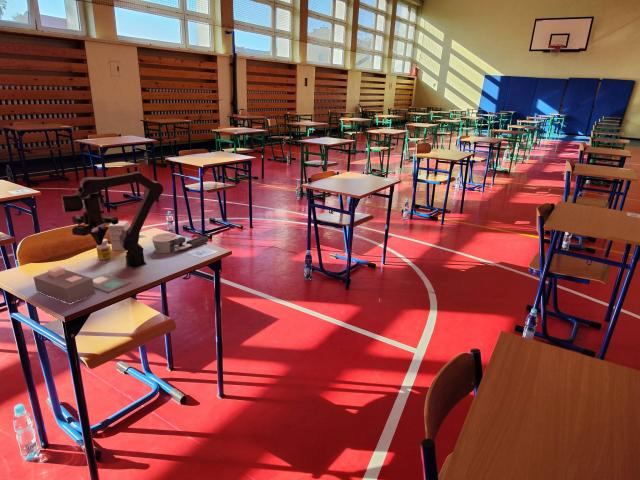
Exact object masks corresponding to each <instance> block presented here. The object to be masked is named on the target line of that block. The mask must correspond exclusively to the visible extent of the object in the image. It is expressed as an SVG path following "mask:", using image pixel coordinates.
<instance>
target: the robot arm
mask: <svg viewBox="0 0 640 480" xmlns="http://www.w3.org/2000/svg"><path fill="white" fill-rule="evenodd" d="M134 183H138V184H140V185H141V186H142V187H144V189H143V196H142V197H143V198H142V200H141V203H140V204H139V205H138V206H139V207H138V209H137V211H136V212H135V215H134V218H133V220H132V222H131V223H130V224H129V229H127V230H126V231H125V230H123V231H122V234H121V236H120V237H119V238H120V240H119V242H120V244H121V246H122V247H123V248H124V249H125V250H124V251H125V253H126V254H125V256H124V257H125V262H126V263H125V264H126V265H127V266H128V267H130V268H133V269H134V268H137V267H141V266H145V265H147V262H146V261H145V257H144V256H145V255H144V247H143V246H142V245H141V244H140V243H139V240H140V232H141V230H142V228H143V226H144V223H145V221H146V219H147V217H148V215H149V213H150V211H151V210H152V207H153V206H154V203H155V202H156V201H157V200H159V199H160V197H161V196H162V194H163V193H164V186H163V185H162V183H160V182H158V181H156V180H151V179H149V178H147V177H146V176H144V175H143V174H142V173H141V172H139V171H134V172H129V173H122V174H116V175H111V176H106V177H102V176H101V177H100V176H99V177H98V176H85V177H82V179H80V182H79V187H78V189H77V190H76V192H75V194H62V195H61V205H62V209H63V213H65V214H66V213H67V214H68V213H74V212H75V213H76V212H81V210H83V208H84V209H85V211H83V212H82V215H81V216H80V215H78V214H77V215H73V216H72V217H71V221H72V223H73V224H74V225H76V224H77V226H74V227H72V229H71V232H72V235H74V236H80V237H85V236H89V235H90V236H91V237H92V238H93V240H94V241H95V243H96V244H97V245H101V244H102V241H103V239H105V236H106V234H107V231H108V230H109V227H108V226H107V224H108V225H109V224H113V225H115V224H118V223H119V222H118V221H119V219H118V217H117V216H112V215H106V216H103V214H104V213H105V210H102V206H101V204H102V203H101V199H102V198H105V197H106V196H105V195H104V194H103V193H101V191H104V190H105V189H107V188H112V187H119V186H122V185H123V186H124V185H129V184H134ZM100 198H101V199H100Z"/></svg>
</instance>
